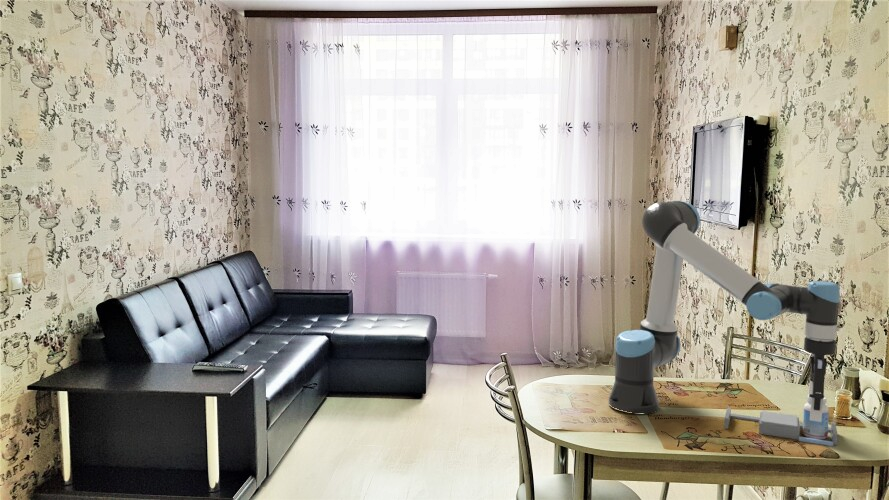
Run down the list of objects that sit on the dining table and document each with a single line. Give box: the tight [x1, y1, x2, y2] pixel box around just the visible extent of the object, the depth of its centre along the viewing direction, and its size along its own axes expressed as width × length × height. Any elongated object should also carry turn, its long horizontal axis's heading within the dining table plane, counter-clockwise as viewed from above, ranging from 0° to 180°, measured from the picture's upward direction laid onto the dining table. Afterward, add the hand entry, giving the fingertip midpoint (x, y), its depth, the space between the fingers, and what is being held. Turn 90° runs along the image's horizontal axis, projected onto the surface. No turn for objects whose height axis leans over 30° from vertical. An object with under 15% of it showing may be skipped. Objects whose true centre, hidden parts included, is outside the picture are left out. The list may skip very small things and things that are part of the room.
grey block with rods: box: [723, 407, 839, 447], centre depth 188 cm, size 28×13×4 cm, turn 63°
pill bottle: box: [802, 394, 830, 440], centre depth 183 cm, size 6×6×11 cm
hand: (814, 412), depth 183 cm, fingers open, 13 cm apart
